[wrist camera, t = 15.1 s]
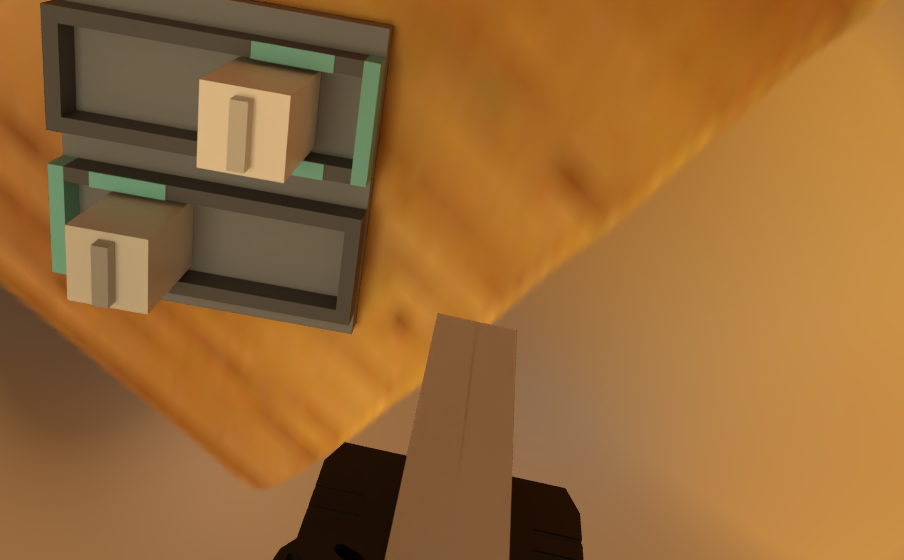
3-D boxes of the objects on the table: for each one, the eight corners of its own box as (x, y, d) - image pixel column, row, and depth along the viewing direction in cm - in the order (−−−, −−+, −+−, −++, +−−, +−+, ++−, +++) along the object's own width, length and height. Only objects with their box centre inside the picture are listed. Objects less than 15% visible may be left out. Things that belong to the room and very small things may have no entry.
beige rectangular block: (242, 55, 42) (192, 82, 36) (321, 69, 42) (285, 99, 36) (237, 133, 43) (190, 172, 37) (314, 147, 43) (279, 188, 37)
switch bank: (68, -33, 42) (37, -28, 39) (393, 25, 42) (384, 34, 39) (78, 274, 49) (52, 295, 46) (355, 324, 49) (345, 348, 46)
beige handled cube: (120, 185, 45) (56, 230, 39) (193, 198, 45) (141, 246, 39) (120, 252, 47) (59, 306, 41) (191, 265, 47) (140, 321, 41)
